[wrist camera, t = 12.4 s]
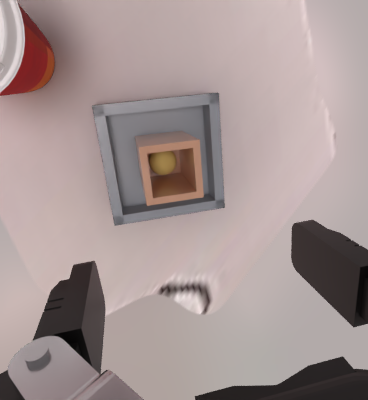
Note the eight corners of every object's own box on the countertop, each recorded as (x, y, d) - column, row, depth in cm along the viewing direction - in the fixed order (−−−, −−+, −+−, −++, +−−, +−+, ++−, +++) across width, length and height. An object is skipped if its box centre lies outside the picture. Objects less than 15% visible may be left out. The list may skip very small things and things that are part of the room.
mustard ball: (147, 145, 31) (148, 152, 28) (173, 143, 31) (177, 150, 29) (149, 171, 32) (151, 180, 30) (175, 168, 32) (179, 177, 30)
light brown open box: (134, 136, 31) (138, 147, 24) (181, 130, 32) (199, 139, 24) (141, 181, 33) (146, 206, 25) (185, 175, 33) (203, 197, 26)
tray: (95, 105, 30) (92, 105, 27) (208, 93, 32) (218, 92, 29) (115, 213, 34) (114, 225, 31) (215, 197, 36) (224, 207, 33)
